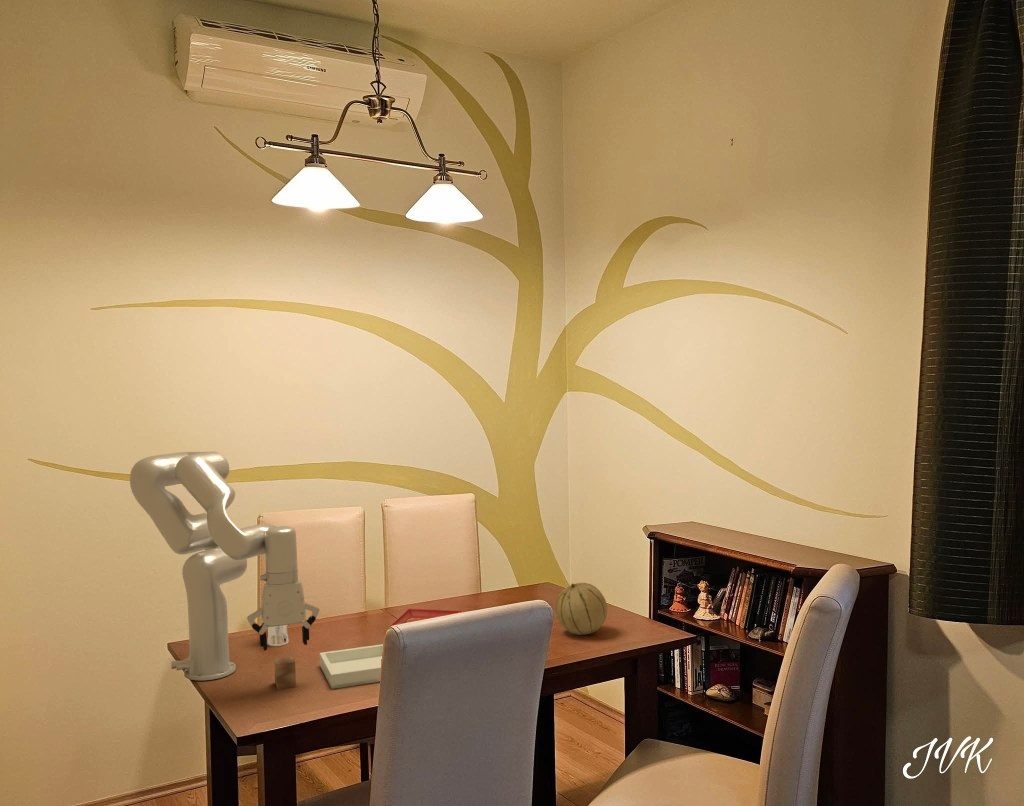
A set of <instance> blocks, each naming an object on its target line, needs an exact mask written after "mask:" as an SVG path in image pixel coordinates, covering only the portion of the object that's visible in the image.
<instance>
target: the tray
mask: <svg viewBox="0 0 1024 806" xmlns="http://www.w3.org/2000/svg"><path fill="white" fill-rule="evenodd" d="M383 644H384V643H382V644H374V645H369V646H360V647H354V648H346V649H345V648H344V649H339V650H331V651H326V652H325V651H324V652H319V666H320V669H321V671H322V672H323V675H324V676H325V679H326V681H327V682H328V685H329V687H330V688H331V690H336V689H341V688H347V687H354V686H360V685H361V686H362V685H368V684H373V683H380V682H379V679H380V671H381V659H382V652H383Z"/></svg>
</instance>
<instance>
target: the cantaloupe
mask: <svg viewBox="0 0 1024 806" xmlns="http://www.w3.org/2000/svg"><path fill="white" fill-rule="evenodd" d="M555 611H556V616H557V619H558V621H559V623H560V624H561V626H562V627H563V629H565V630H566V631H567V632H569V633H571V634H573V635H579V636H584V635H589V634H593V633H595V632H597V631H598V630H599V629H601V627H602V626H603V625H604V623H605V621H606V620H607V615H608V603H607V600H606V599H605V597H604V595H603V593H602V592H601V591H600V590H599V588H597V587H596V586H595V585H593V584H592V583H588V582H576V583H571V584H570V585H568V586H566V587H565V588H564V589H563V590H561V592H560V593H559V595H558V596H557V599H556V603H555Z"/></svg>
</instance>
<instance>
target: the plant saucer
mask: <svg viewBox="0 0 1024 806" xmlns="http://www.w3.org/2000/svg"><path fill="white" fill-rule="evenodd" d="M458 612H463V613H464V610H450V609H449V610H448V609H446V610H445V609H431V608H430V609H426V608H408V609H406V610H405V611H404V612H403V613H402V614H401V615H400V616H398V617H397V618H396V619H395V620H394V621H393V622H392V623H391V624H389V628H390V627H391V626H392V625H395V624H398V623H403V622H407V620H408V619H410V618H416V619H414V620H420V619H425V618H431V617H436V616H442V615H447V614H453V613H458ZM417 618H420V619H417ZM414 620H409V621H414Z"/></svg>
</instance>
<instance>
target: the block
mask: <svg viewBox="0 0 1024 806" xmlns="http://www.w3.org/2000/svg"><path fill="white" fill-rule="evenodd" d="M273 663H274V681H275V682H274V684H275V687H276V689H277V690H281V689H286V688H294V687H297V680H296V679H297V678H296V677H297V674H296V673H297V672H296V661H295V659H294V656H289V657H283V658H282V657H281V658H275V659H274V662H273Z"/></svg>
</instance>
